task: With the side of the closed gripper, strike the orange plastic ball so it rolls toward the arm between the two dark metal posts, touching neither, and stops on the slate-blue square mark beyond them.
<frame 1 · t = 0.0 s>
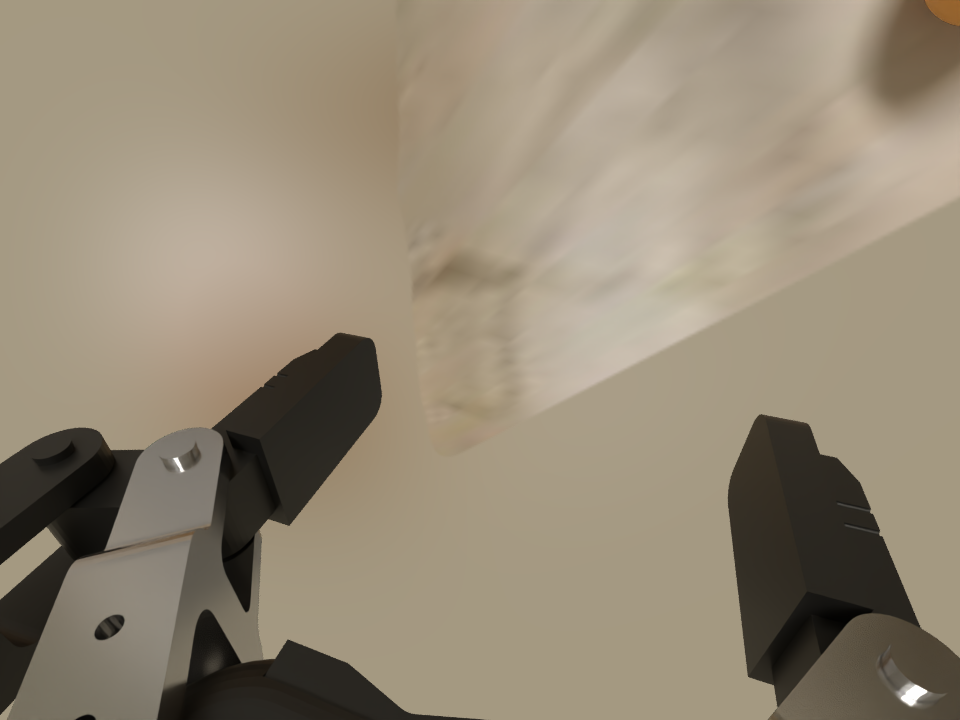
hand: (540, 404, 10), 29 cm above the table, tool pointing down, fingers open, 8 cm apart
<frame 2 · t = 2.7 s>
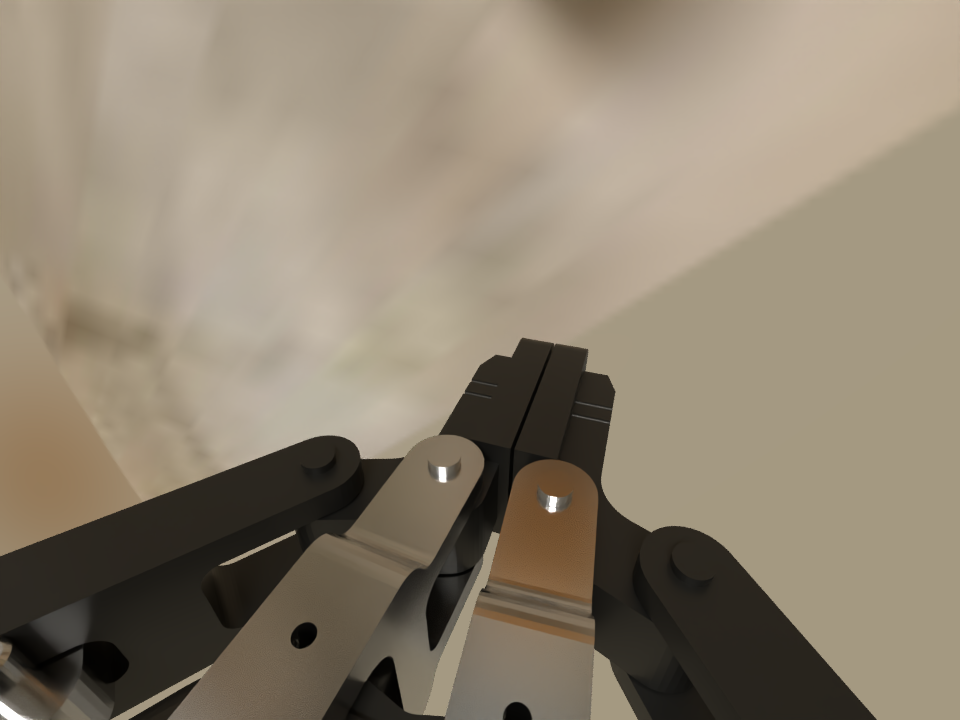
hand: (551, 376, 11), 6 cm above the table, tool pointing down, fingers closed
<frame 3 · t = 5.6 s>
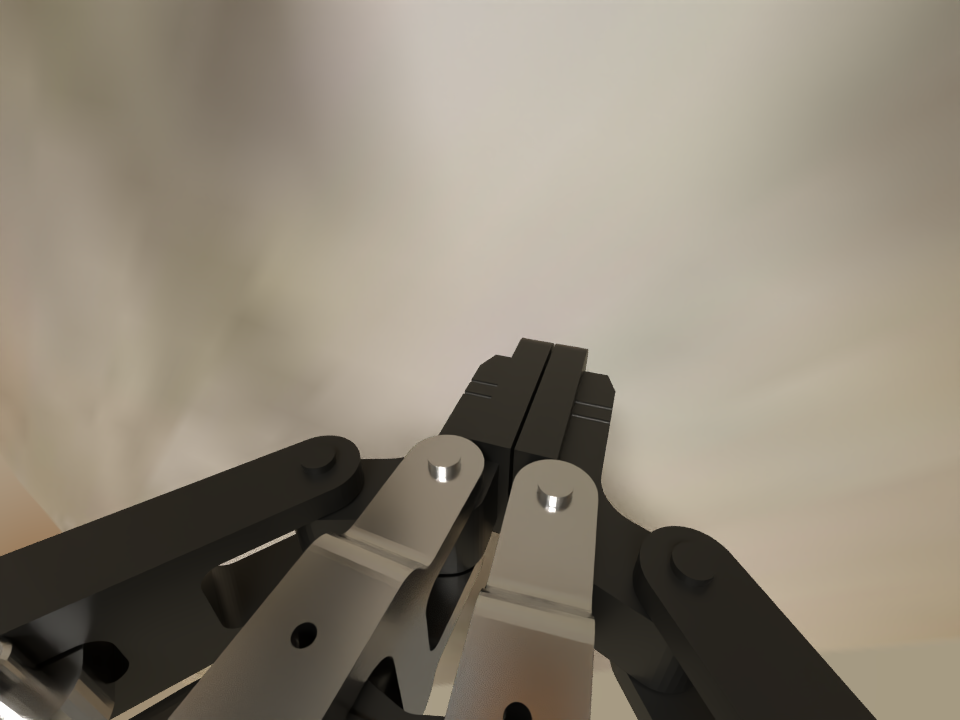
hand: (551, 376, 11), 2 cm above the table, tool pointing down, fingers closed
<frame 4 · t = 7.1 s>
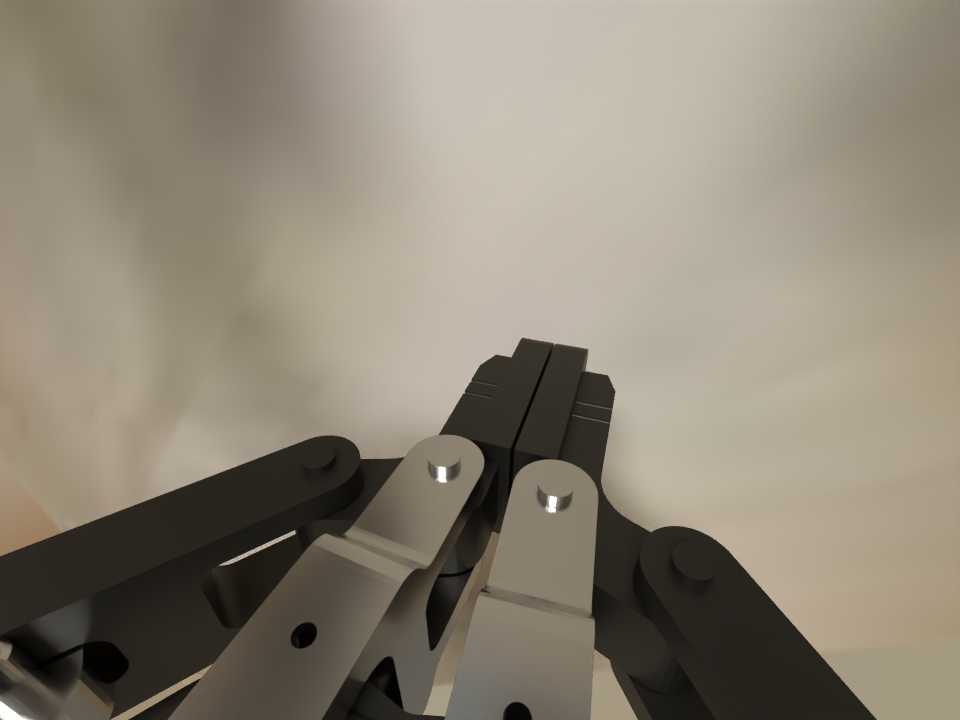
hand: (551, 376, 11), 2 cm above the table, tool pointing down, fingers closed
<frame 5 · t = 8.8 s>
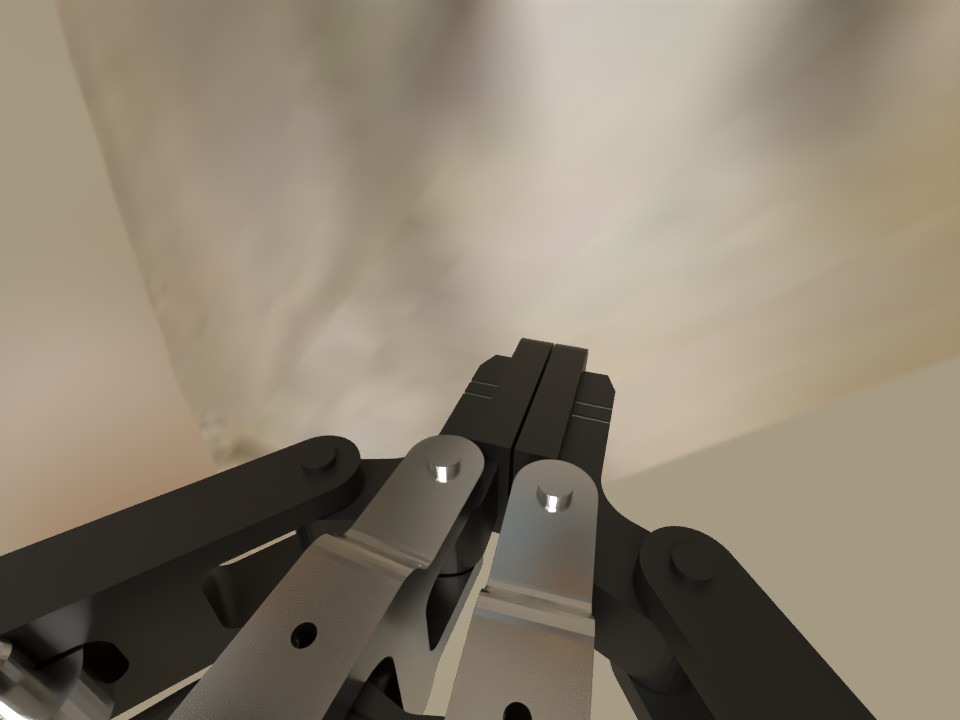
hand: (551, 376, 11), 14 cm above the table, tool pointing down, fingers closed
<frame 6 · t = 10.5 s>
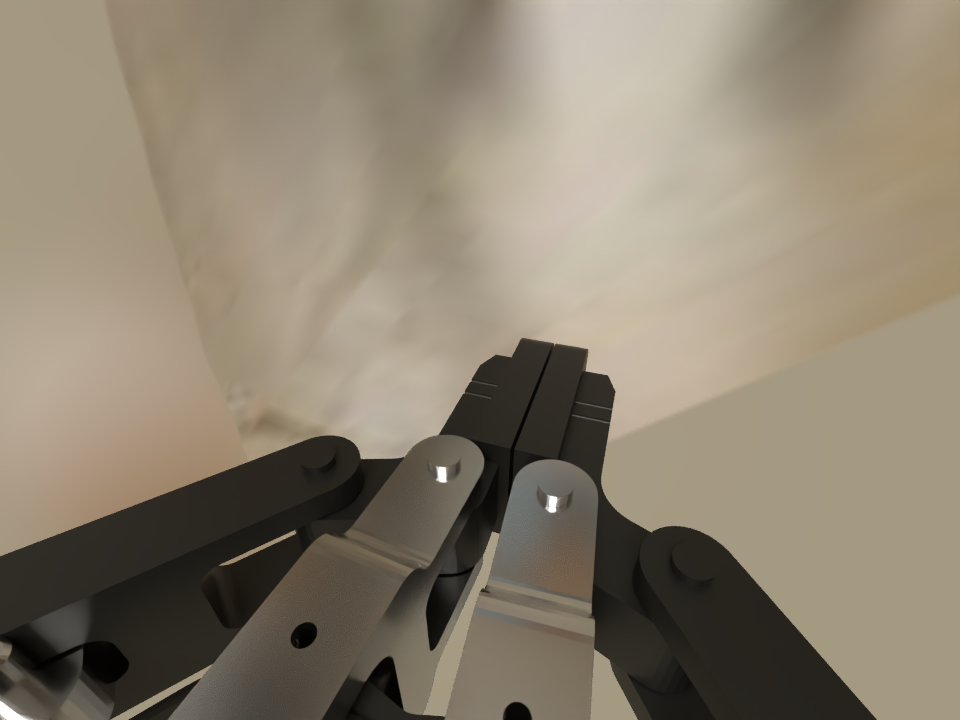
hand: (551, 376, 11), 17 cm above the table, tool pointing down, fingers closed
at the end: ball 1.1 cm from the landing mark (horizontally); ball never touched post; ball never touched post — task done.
